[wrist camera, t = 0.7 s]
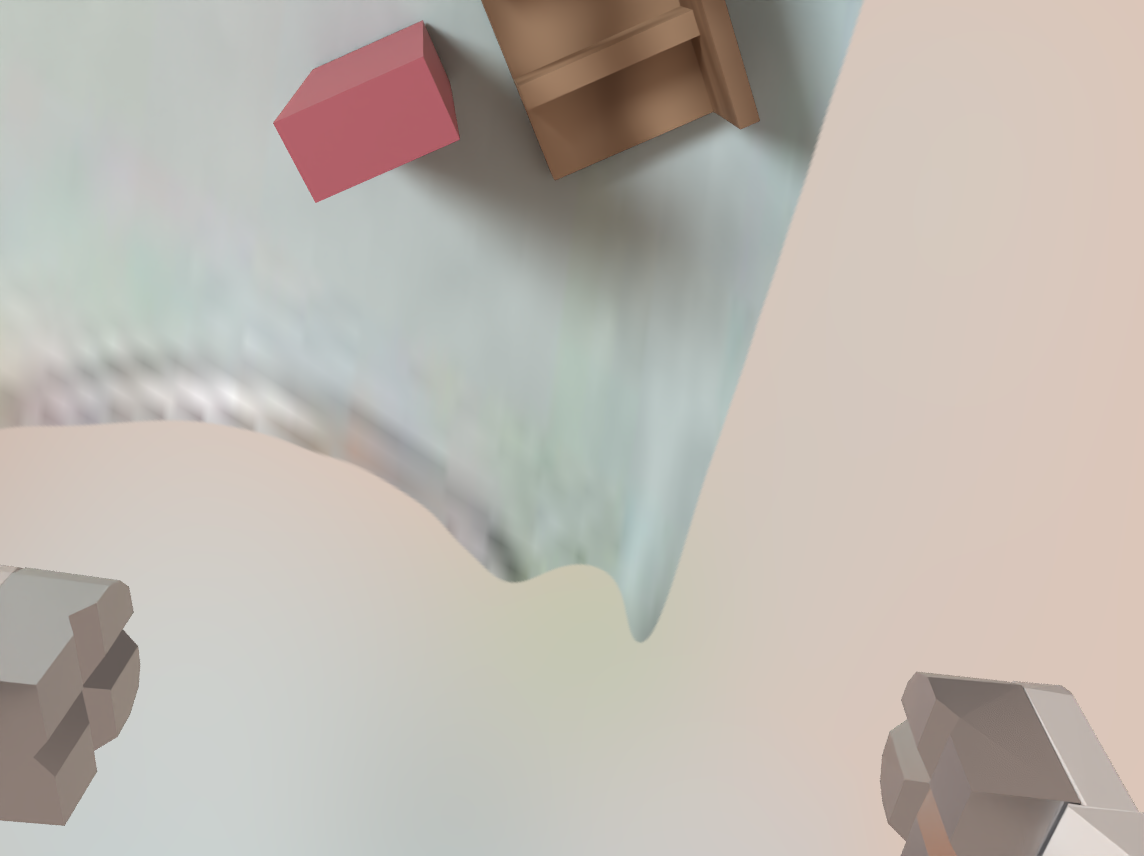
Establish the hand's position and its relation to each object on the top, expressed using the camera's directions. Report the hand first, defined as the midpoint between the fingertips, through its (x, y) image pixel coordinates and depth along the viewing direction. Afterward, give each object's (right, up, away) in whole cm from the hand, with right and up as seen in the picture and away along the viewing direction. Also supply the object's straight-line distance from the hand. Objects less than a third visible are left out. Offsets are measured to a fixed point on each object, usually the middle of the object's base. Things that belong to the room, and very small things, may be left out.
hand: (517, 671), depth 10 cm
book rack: (+1, +24, +39) cm, 46 cm away
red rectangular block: (-9, +20, +40) cm, 46 cm away
